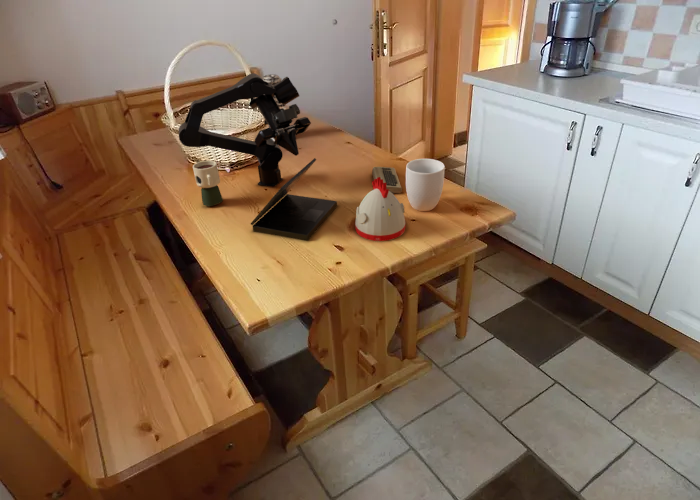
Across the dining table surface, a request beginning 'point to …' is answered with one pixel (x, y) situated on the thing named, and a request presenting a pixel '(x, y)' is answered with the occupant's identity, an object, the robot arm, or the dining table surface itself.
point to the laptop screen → (283, 191)
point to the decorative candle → (273, 80)
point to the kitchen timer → (380, 214)
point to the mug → (424, 183)
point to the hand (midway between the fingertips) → (297, 154)
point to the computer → (388, 178)
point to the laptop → (295, 217)
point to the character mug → (208, 182)
